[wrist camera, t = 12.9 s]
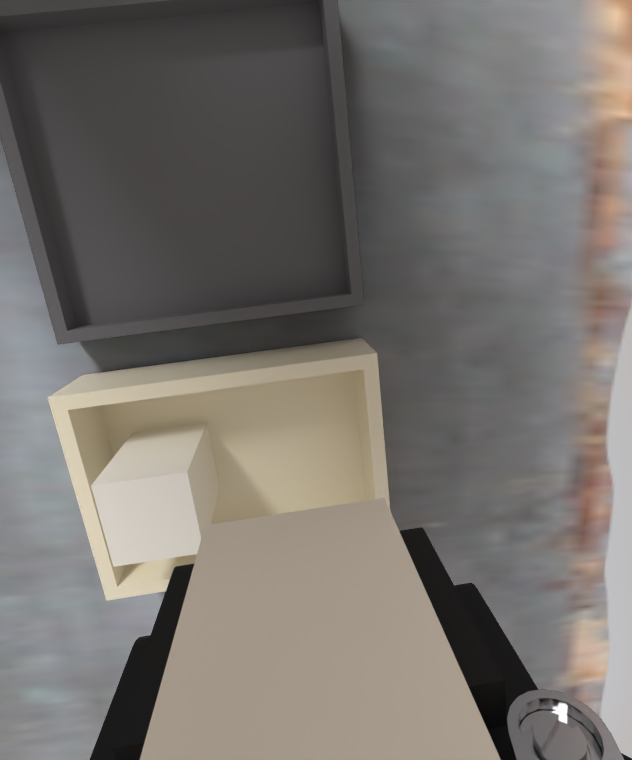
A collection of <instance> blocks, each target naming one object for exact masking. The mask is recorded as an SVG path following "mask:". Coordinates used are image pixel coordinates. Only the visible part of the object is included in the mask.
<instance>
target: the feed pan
mask: <svg viewBox="0 0 632 760" xmlns="http://www.w3.org/2000/svg"><path fill="white" fill-rule="evenodd" d="M0 137H1V141H2V144H3V148H4V152H5V155H6V159H7V163H8V166H9V170H10V173H11V177H12V181H13V184H14V188H15V192H16V195H17V199H18V202H19V206H20V210H21V213H22V217H23V221H24V224H25V228H26V232H27V235H28V239H29V242H30V246H31V250H32V253H33V257H34V261H35V264H36V268H37V271H38V275H39V279H40V282H41V286H42V290H43V293H44V297H45V300H46V304H47V308H48V311H49V315H50V319H51V322H52V326H53V330H54V333H55V337H56V340H57V344H66V343H73V342H81V341H89V340H96V339H104V338H112V337H120V336H127V335H135V334H143V333H151V332H158V331H166V330H174V329H181V328H189V327H197V326H205V325H212V324H220V323H228V322H236V321H243V320H251V319H259V318H266V317H274V316H282V315H290V314H297V313H305V312H313V311H321V310H328V309H336V308H344V307H351V306H359V305H364V293H363V282H362V271H361V259H360V248H359V237H358V225H357V214H356V203H355V191H354V180H353V169H352V157H351V146H350V135H349V123H348V112H347V101H346V89H345V78H344V67H343V55H342V44H341V33H340V21H339V10H338V0H0Z"/></svg>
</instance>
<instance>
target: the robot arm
mask: <svg viewBox="0 0 632 760" xmlns="http://www.w3.org/2000/svg"><path fill="white" fill-rule="evenodd" d="M399 532H400V534H401V536H402V539H403V541H404V543H405V545H406V548H407V550H408V552H409V554H410V557H411V559H412V561H413V563H414V566H415V568H416V570H417V572H418V575H419V577H420V579H421V581H422V584H423V586H424V588H425V590H426V593H427V595H428V597H429V599H430V602H431V604H432V606H433V608H434V611H435V613H436V615H437V617H438V620H439V622H440V624H441V626H442V629H443V631H444V633H445V635H446V638H447V640H448V642H449V644H450V647H451V649H452V651H453V653H454V656H455V658H456V660H457V662H458V665H459V667H460V669H461V671H462V674H463V676H464V678H465V680H466V683H467V685H468V687H469V689H470V692H471V694H472V696H473V698H474V701H475V703H476V705H477V707H478V710H479V712H480V714H481V716H482V719H483V721H484V723H485V725H486V728H487V730H488V732H489V734H490V737H491V739H492V741H493V743H494V746H495V748H496V750H497V752H498V755H499V757H500V759H501V760H632V759H631V758H629V757H627V756H625V755H623V754H622V753H621V752H620V750H619V748H618V746H617V744H616V742H615V740H614V738H613V736H612V734H611V733H610V731H609V730H608V728H607V727H606V725H605V724H604V722H603V721H602V719H601V718H600V717H599V716H598V715H597V714H596V713H595V712H593V711H592V710H591V709H590V708H589V707H588V706H587V705H585V704H583V703H582V702H580V701H579V700H577V699H575V698H574V697H572V696H569V695H566V694H563V693H561V692H558V691H552V690H544V689H540V690H538V688H537V687H536V685H535V683H534V682H533V680H532V678H531V677H530V675H529V674H528V672H527V670H526V669H525V667H524V665H523V664H522V662H521V660H520V659H519V657H518V655H517V654H516V652H515V650H514V649H513V647H512V645H511V644H510V642H509V640H508V639H507V637H506V635H505V634H504V632H503V630H502V629H501V627H500V626H499V624H498V622H497V621H496V619H495V617H494V616H493V614H492V612H491V611H490V609H489V607H488V606H487V604H486V602H485V601H484V599H483V597H482V596H481V594H480V592H479V591H478V589H477V588H476V587H475V585H474V584H472V583H467V584H461V585H455V586H454V585H453V583H452V581H451V579H450V577H449V575H448V574H447V572H446V570H445V568H444V566H443V564H442V562H441V561H440V559H439V557H438V555H437V553H436V551H435V549H434V548H433V546H432V544H431V542H430V540H429V538H428V536H427V535H426V533H425V531H424V529H423V528H415V529H409V530H403V531H399ZM193 567H194V564H188V565H182V566H176V567H175V568H174V570H173V572H172V575H171V578H170V581H169V584H168V587H167V589H166V592H165V595H164V598H163V601H162V604H161V607H160V610H159V613H158V616H157V619H156V621H155V624H154V627H153V630H152V633H151V635H150V636H144V637H139V638H138V639H137V640H136V641H135V643H134V645H133V647H132V650H131V653H130V655H129V658H128V661H127V663H126V666H125V668H124V671H123V674H122V676H121V679H120V682H119V684H118V687H117V689H116V692H115V695H114V697H113V700H112V703H111V705H110V708H109V710H108V713H107V716H106V718H105V721H104V724H103V726H102V729H101V732H100V734H99V737H98V739H97V742H96V745H95V747H94V750H93V753H92V755H91V758H90V760H140V757H141V753H142V750H143V746H144V743H145V739H146V735H147V732H148V728H149V725H150V721H151V717H152V714H153V710H154V707H155V703H156V700H157V696H158V692H159V689H160V685H161V682H162V678H163V674H164V671H165V667H166V664H167V660H168V657H169V653H170V649H171V646H172V642H173V639H174V635H175V631H176V628H177V624H178V621H179V617H180V614H181V610H182V606H183V603H184V599H185V596H186V592H187V589H188V585H189V581H190V578H191V574H192V571H193Z"/></svg>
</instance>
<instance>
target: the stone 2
mask: <svg viewBox="0 0 632 760" xmlns="http://www.w3.org/2000/svg"><path fill="white" fill-rule="evenodd" d="M140 760H501V759H500V757H499V755H498V752H497V750H496V748H495V746H494V743H493V741H492V739H491V737H490V734H489V732H488V730H487V728H486V725H485V723H484V721H483V719H482V716H481V714H480V712H479V710H478V707H477V705H476V703H475V701H474V698H473V696H472V694H471V692H470V689H469V687H468V685H467V683H466V680H465V678H464V676H463V674H462V671H461V669H460V667H459V665H458V662H457V660H456V658H455V656H454V653H453V651H452V649H451V647H450V644H449V642H448V640H447V638H446V635H445V633H444V631H443V629H442V626H441V624H440V622H439V620H438V617H437V615H436V613H435V611H434V608H433V606H432V604H431V602H430V599H429V597H428V595H427V593H426V590H425V588H424V586H423V584H422V581H421V579H420V577H419V575H418V572H417V570H416V568H415V566H414V563H413V561H412V559H411V557H410V554H409V552H408V550H407V548H406V545H405V543H404V541H403V539H402V536H401V534H400V532H399V530H398V527H397V525H396V523H395V521H394V518H393V516H392V514H391V512H390V509H389V507H388V505H387V503H386V500H385V498H379V499H372V500H366V501H360V502H353V503H347V504H340V505H334V506H327V507H321V508H314V509H308V510H302V511H295V512H289V513H282V514H276V515H269V516H263V517H256V518H250V519H243V520H237V521H231V522H224V523H218V524H211V525H205V528H204V531H203V535H202V538H201V542H200V546H199V549H198V553H197V556H196V560H195V563H194V567H193V571H192V574H191V578H190V581H189V585H188V589H187V592H186V596H185V599H184V603H183V606H182V610H181V614H180V617H179V621H178V624H177V628H176V631H175V635H174V639H173V642H172V646H171V649H170V653H169V657H168V660H167V664H166V667H165V671H164V674H163V678H162V682H161V685H160V689H159V692H158V696H157V700H156V703H155V707H154V710H153V714H152V717H151V721H150V725H149V728H148V732H147V735H146V739H145V743H144V746H143V750H142V753H141V757H140Z"/></svg>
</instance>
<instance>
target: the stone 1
mask: <svg viewBox="0 0 632 760" xmlns="http://www.w3.org/2000/svg"><path fill="white" fill-rule="evenodd" d="M91 487H92V491H93V495H94V498H95V502H96V506H97V509H98V513H99V516H100V520H101V524H102V527H103V531H104V534H105V538H106V542H107V545H108V549H109V553H110V556H111V560H112V563H113V567H115V566H122V565H128V564H135V563H141V562H148V561H154V560H161V559H168V558H174V557H181V556H187V555H194V554H197V553H198V549H199V546H200V542H201V538H202V535H203V531H204V528H205V525H211V522H212V518H213V513H214V509H215V505H216V500H217V496H218V492H219V488H220V487H219V482H218V477H217V472H216V466H215V461H214V456H213V451H212V446H211V440H210V435H209V430H208V425H207V422H204V423H197V424H190V425H182V426H175V427H168V428H161V429H153V430H146V431H139V432H133V433H132V434H131V436H130V437H129V438H128V439H127V441H126V442H125V443H124V444H123V446H122V447H121V448H120V450H119V451H118V452H117V453H116V455H115V456H114V457H113V458H112V460H111V461H110V462H109V464H108V465H107V466H106V467H105V469H104V470H103V471H102V472H101V474H100V475H99V476H98V478H97V479H96V480H95V481H94V483H93V484H92V485H91Z"/></svg>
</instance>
